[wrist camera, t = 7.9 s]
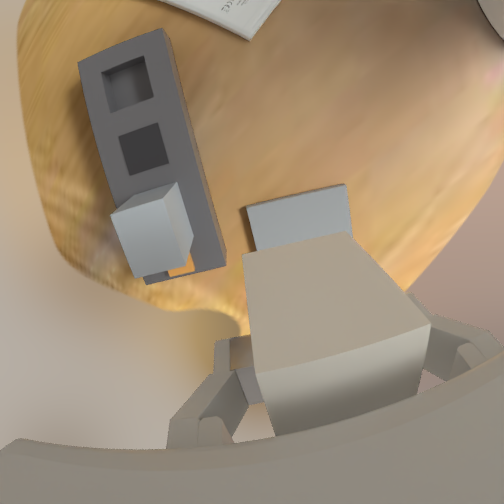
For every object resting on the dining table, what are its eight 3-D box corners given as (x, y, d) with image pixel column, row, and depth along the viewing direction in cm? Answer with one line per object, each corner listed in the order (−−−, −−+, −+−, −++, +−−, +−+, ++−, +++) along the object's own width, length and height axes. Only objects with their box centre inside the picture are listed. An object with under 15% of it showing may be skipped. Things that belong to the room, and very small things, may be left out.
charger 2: (329, 215, 13) (431, 322, 6) (339, 308, 15) (404, 435, 8) (240, 235, 13) (254, 374, 6) (262, 326, 15) (287, 469, 8)
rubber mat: (343, 183, 30) (346, 185, 29) (353, 270, 34) (356, 273, 33) (245, 205, 30) (246, 208, 29) (267, 292, 34) (268, 296, 33)
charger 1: (177, 181, 25) (162, 198, 19) (193, 236, 27) (185, 266, 21) (134, 195, 25) (109, 215, 19) (152, 247, 27) (134, 278, 21)
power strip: (169, 38, 23) (160, 25, 19) (226, 250, 31) (226, 268, 28) (93, 68, 23) (74, 61, 19) (153, 268, 32) (144, 288, 28)
